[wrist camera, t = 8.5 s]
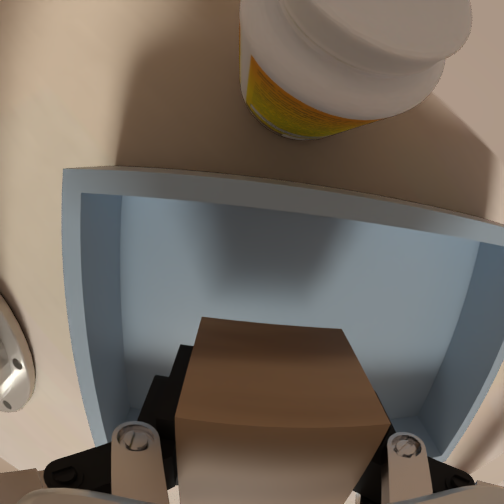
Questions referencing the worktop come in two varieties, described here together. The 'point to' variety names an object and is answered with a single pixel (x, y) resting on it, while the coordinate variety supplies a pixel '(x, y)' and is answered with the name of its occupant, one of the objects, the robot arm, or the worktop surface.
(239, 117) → the worktop surface
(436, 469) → the robot arm
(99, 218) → the tote
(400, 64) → the supplement bottle
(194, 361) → the walnut cube
